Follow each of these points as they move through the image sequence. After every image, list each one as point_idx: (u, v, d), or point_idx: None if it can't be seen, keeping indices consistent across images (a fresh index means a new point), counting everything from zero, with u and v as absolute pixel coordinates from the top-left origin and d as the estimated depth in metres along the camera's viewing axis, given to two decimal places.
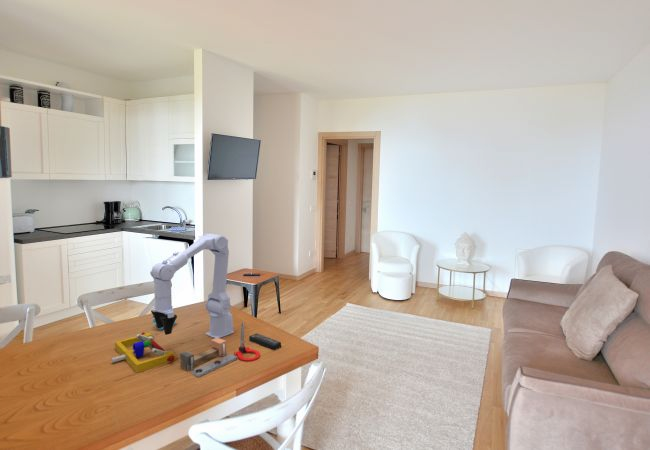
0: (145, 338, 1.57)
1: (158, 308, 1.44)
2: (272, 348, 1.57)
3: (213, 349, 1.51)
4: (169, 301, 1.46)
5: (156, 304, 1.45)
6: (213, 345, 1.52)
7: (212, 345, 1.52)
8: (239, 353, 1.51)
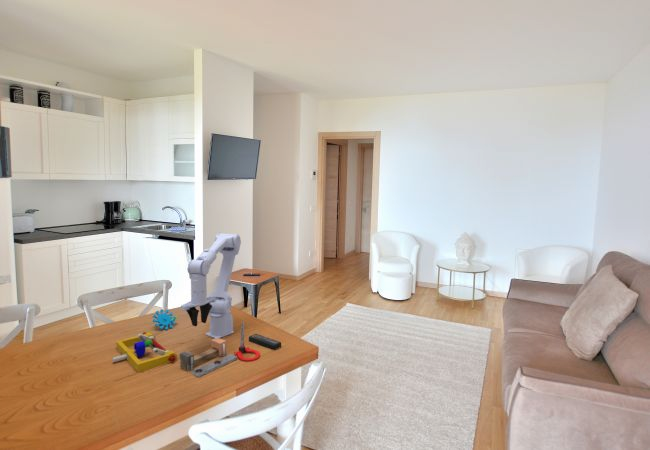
0: (146, 338, 1.58)
1: None
2: (272, 348, 1.57)
3: (213, 349, 1.51)
4: (196, 296, 1.50)
5: None
6: (213, 345, 1.52)
7: (212, 345, 1.52)
8: (239, 353, 1.51)
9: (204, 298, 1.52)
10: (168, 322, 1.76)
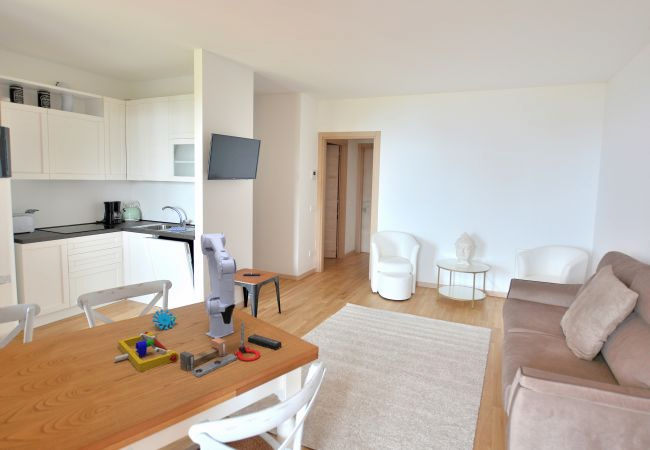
0: (148, 337, 1.58)
1: (219, 300, 1.53)
2: (273, 348, 1.57)
3: (213, 349, 1.51)
4: (229, 296, 1.52)
5: None
6: (213, 345, 1.52)
7: (212, 345, 1.52)
8: (239, 353, 1.51)
9: (234, 296, 1.55)
10: (168, 322, 1.76)
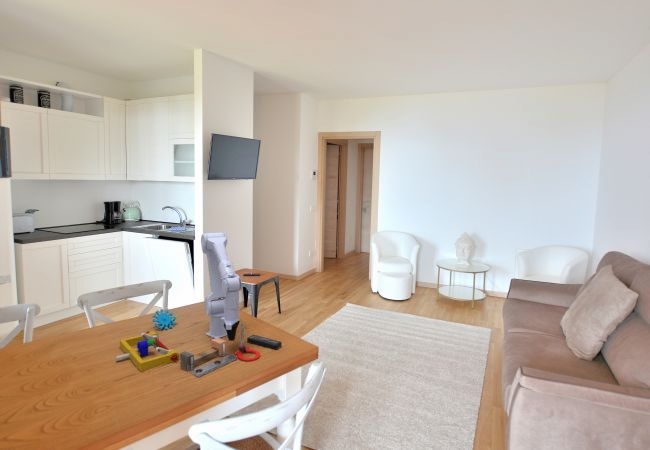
0: (149, 337, 1.59)
1: (224, 318, 1.54)
2: (274, 348, 1.57)
3: (213, 349, 1.51)
4: (234, 313, 1.53)
5: (224, 314, 1.55)
6: (213, 345, 1.52)
7: (212, 345, 1.52)
8: (239, 353, 1.51)
9: None
10: (168, 322, 1.76)
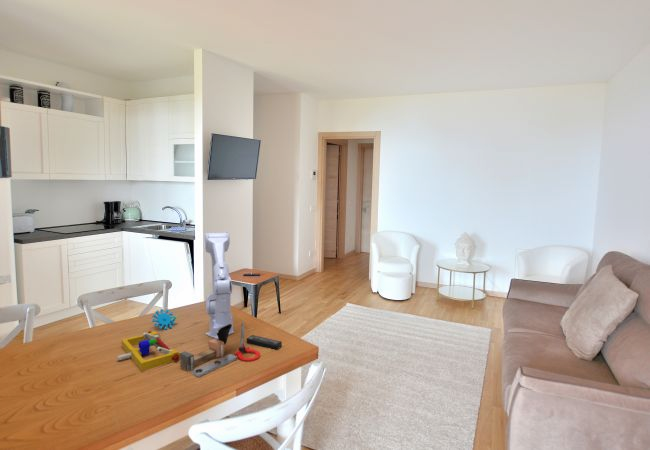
0: (151, 336, 1.59)
1: (215, 320, 1.51)
2: (274, 348, 1.57)
3: (213, 349, 1.51)
4: (224, 316, 1.50)
5: None
6: (211, 346, 1.51)
7: (210, 346, 1.51)
8: (239, 353, 1.51)
9: (230, 317, 1.52)
10: (168, 322, 1.76)
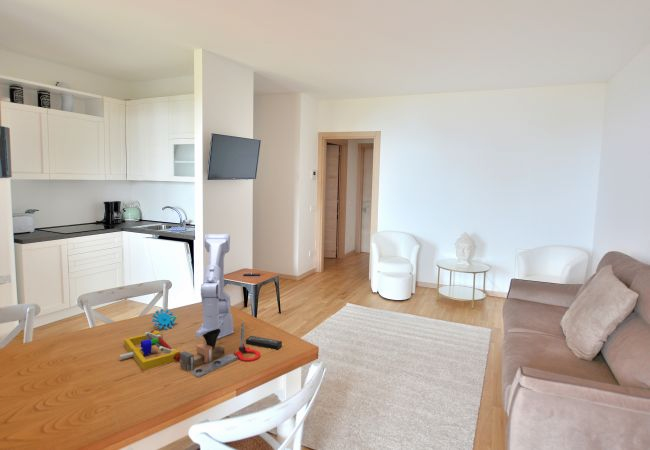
0: (153, 336, 1.60)
1: (203, 324, 1.48)
2: (275, 348, 1.58)
3: (213, 349, 1.51)
4: (210, 321, 1.45)
5: None
6: (199, 351, 1.46)
7: (198, 351, 1.47)
8: (239, 353, 1.51)
9: (217, 322, 1.47)
10: (168, 322, 1.76)
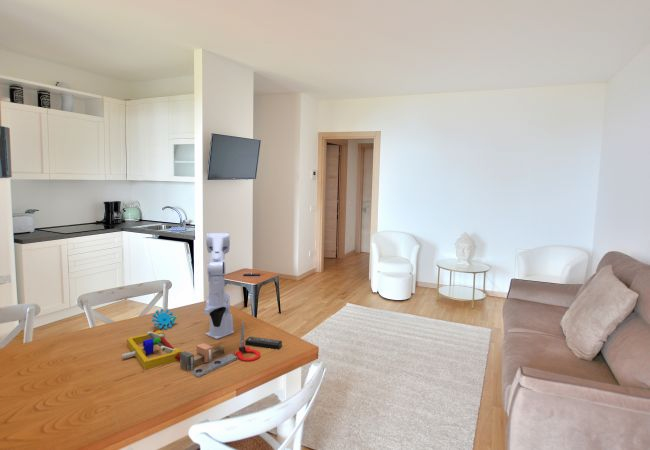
0: (156, 335, 1.60)
1: (209, 302, 1.51)
2: (276, 347, 1.58)
3: (213, 349, 1.51)
4: (216, 298, 1.49)
5: None
6: (199, 351, 1.46)
7: (198, 351, 1.47)
8: (239, 353, 1.51)
9: (223, 299, 1.51)
10: (167, 322, 1.76)
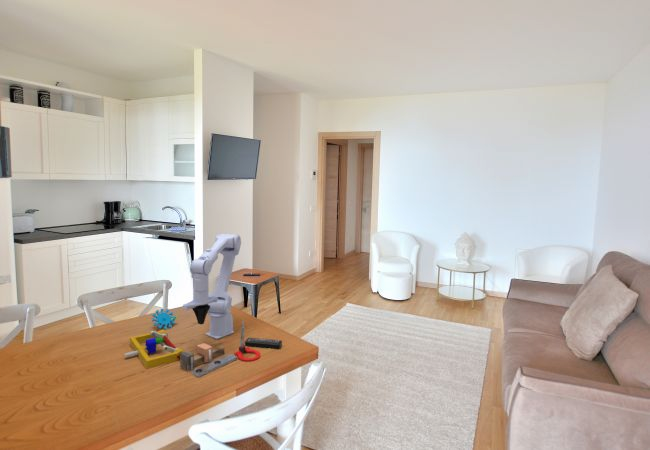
0: (159, 335, 1.61)
1: None
2: (277, 347, 1.58)
3: (213, 349, 1.51)
4: (198, 296, 1.51)
5: None
6: (199, 351, 1.46)
7: (198, 351, 1.47)
8: (239, 353, 1.51)
9: (206, 297, 1.53)
10: (167, 322, 1.76)
